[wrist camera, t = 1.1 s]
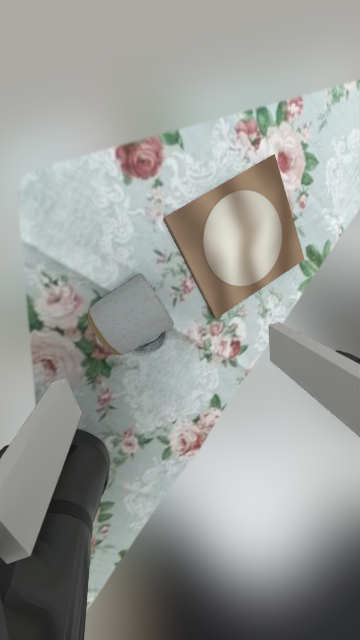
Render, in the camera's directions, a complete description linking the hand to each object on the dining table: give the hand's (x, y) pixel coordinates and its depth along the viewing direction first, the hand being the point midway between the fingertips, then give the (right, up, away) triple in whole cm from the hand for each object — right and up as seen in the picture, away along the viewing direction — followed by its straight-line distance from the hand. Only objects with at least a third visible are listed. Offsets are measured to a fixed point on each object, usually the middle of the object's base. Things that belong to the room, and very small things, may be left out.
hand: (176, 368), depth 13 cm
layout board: (+9, +15, +18) cm, 25 cm away
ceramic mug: (-6, +4, +16) cm, 18 cm away
